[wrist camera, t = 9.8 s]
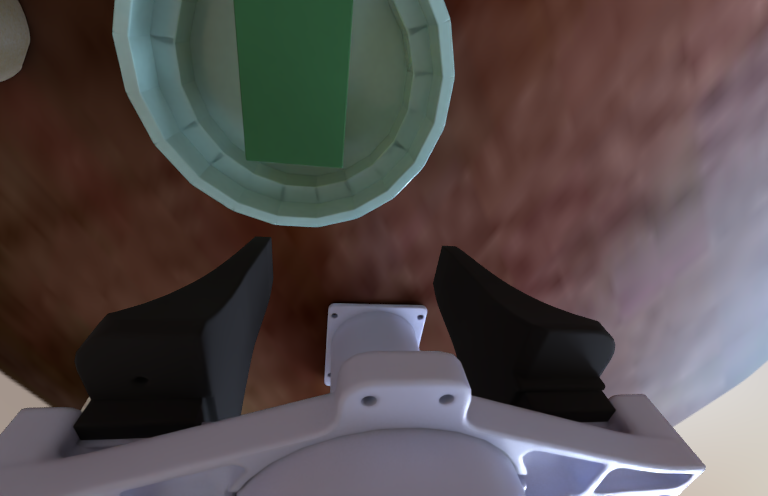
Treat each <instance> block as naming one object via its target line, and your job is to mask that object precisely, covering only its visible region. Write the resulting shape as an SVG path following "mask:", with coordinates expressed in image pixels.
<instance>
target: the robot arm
mask: <svg viewBox="0 0 768 496" xmlns="http://www.w3.org/2000/svg"><path fill="white" fill-rule="evenodd" d="M272 283H273V263H272V242H271V237H254V238H253V239H252V240H251V241H250V242H249V243H247V244H246V245H245V246H244V247H243V248H242V249H240V250H239V251H238V252H237V253H236V254H235V255H233V256H232V257H231V258H230V259H228V260H227V261H226V262H224V263H223V264H222V265H220V266H219V267H217V268H216V269H215V270H213V271H212V272H210V273H209V274H207V275H205V276H204V277H202V278H200V279H199V280H197V281H195V282H193V283H191V284H189V285H187V286H185V287H183V288H181V289H179V290H177V291H175V292H172V293H170V294H168V295H165V296H163V297H160V298H158V299H155V300H152V301H149V302H147V303H144V304H141V305H138V306H134V307H131V308H127V309H124V310H120V311H117V312H113V313H109V314H107V315H106V316H105V317H104V319H103V320H102V321H101V322H100V323H99V324H98V325H97V326H96V328H95V329H94V330H93V332H92V333H91V334H90V335H89V337H88V338H87V339H86V340H85V342H84V343H83V344H82V345H81V347H80V348H79V349H78V351H77V352H76V356H75V365H76V369H77V371H78V374H79V376H80V378H81V380H82V382H83V384H84V386H85V388H86V391H87V393H88V395H89V397H90V399H91V400H90V402H89V403H88V405H87V406H86V408H85V409H84V411H83V412H81V411H80V410H78V409H75V408H71V407H44V408H24V409H22V410H21V411H20V412H19V413H18V414H17V415H16V416H15V418H14V419H13V420H12V421H11V423H10V424H9V425H8V426H7V427H6V429H5V430H4V431H3V432H2V433H1V434H0V496H677V495H678V494H679V493H680V492H681V491H683V489H685V488H686V487H687V486H688V485H689V484H690V483H691V482H692V481H693V480H695V479H696V478H697V477H698V476H699V475H700V474H701V473H702V472H703V471H704V470H705V467H706V466H705V465H704V464H703V463H702V461H701V460H700V459H699V458H698V457H697V455H696V454H695V453H694V452H693V451H692V450H691V448H690V447H689V446H688V445H687V444H686V443H685V441H684V440H683V439H682V438H681V437H680V435H679V434H678V433H677V432H676V431H675V429H674V428H673V427H672V426H671V425H670V424H669V422H668V421H667V420H666V419H665V418H664V416H663V415H662V414H661V413H660V412H659V411H658V409H657V408H656V407H655V406H654V405H653V404H652V402H651V401H650V400H649V399H648V398H647V396H646V395H643V394H632V395H615V396H612V397H610V398H609V399H608V398H607V397H606V396H605V394H604V393H603V392H602V390H604V389H605V384H604V383H603V382H602V380H601V379H600V378H599V377H600V375H601V374H602V372H603V371H604V369H605V368H606V366H607V365H608V363H609V361H610V360H611V358H612V356H613V354H614V350H615V342H614V339H613V338H612V336H611V335H610V334H609V333H608V332H607V331H606V330H605V329H604V327H603V326H602V325H601V324H600V323H599V322H598V321H595V320H592V319H589V318H585V317H582V316H578V315H575V314H572V313H569V312H566V311H564V310H561V309H558V308H555V307H553V306H551V305H548V304H546V303H543V302H541V301H539V300H537V299H535V298H533V297H531V296H529V295H527V294H525V293H523V292H521V291H519V290H517V289H516V288H514V287H512V286H510V285H509V284H507V283H506V282H504V281H502V280H501V279H499V278H498V277H496V276H495V275H494V274H492V273H491V272H489V271H488V270H487V269H485V268H484V267H483V266H481V265H480V264H479V263H477V262H476V261H475V260H473V259H472V258H471V257H470V256H468V255H467V254H466V253H464V252H463V251H462V250H460V249H459V248H457V247H456V246H442V249H441V253H440V257H439V261H438V265H437V270H436V274H435V278H434V282H433V286H434V290H435V295H436V300H437V303H438V306H439V309H440V312H441V314H442V317H443V319H444V322H445V325H446V327H447V330H448V332H449V335H450V337H451V340H452V343H453V346H454V349H455V352H456V355H457V358H456V357H455V356H454V355H453V354H450V353H445V352H440V351H420V350H419V343H420V339H421V335H422V331H423V327H424V323H425V319H426V314H427V309H426V307H425V306H424V305H394V304H348V303H333V304H331V305H330V306H329V307H328V323H327V341H326V359H325V377H324V383H325V384H326V385H328V386H331V388H330V393H329V394H325V395H321V396H317V397H313V398H309V399H305V400H301V401H297V402H293V403H289V404H285V405H281V406H277V407H272V408H268V409H264V410H260V411H256V412H252V413H248V414H244V415H241V410H242V404H243V399H244V393H245V388H246V383H247V378H248V372H249V367H250V363H251V358H252V353H253V349H254V345H255V342H256V339H257V336H258V333H259V330H260V327H261V324H262V321H263V318H264V315H265V312H266V308H267V305H268V302H269V299H270V294H271V288H272ZM333 313H335V314H336V315H332V314H333ZM418 315H421V316H418Z"/></svg>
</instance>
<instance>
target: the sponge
mask: <svg viewBox="0 0 768 496" xmlns="http://www.w3.org/2000/svg"><path fill="white" fill-rule="evenodd" d="M233 3H234V15H235V28H236V41H237V54H238V66H239V79H240V92H241V105H242V118H243V130H244V143H245V156H246V160H247V161H259V162H271V163H284V164H296V165H308V166H320V167H332V168H342V167H343V153H344V137H345V122H346V106H347V91H348V76H349V60H350V45H351V29H352V14H353V0H233Z"/></svg>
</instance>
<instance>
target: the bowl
mask: <svg viewBox="0 0 768 496" xmlns="http://www.w3.org/2000/svg"><path fill="white" fill-rule="evenodd" d="M112 31H113V32H112V35H113V40H114V44H115V48H116V52H117V57H118V61H119V65H120V70H121V74H122V78H123V83H124V87H125V91H126V93H127V96H128V97H129V99H130V101H131V103H132V105H133V107H134V108H135V110H136V112H137V114H138V116H139V118H140V119H141V121H142V123H143V125H144V127H145V129H146V130H147V132H148V134H149V136H150V138H151V140H152V141H153V143H154V144H155V146H156V147H157V148H158V149H159V150H160V151H161V152H162V154H163V155H164V156H165V157H166V158H167V159H168V160H169V161H170V162H171V163H172V164H173V165H174V166H175V167H176V169H177V170H178V171H179V172H180V173H181V174H182V175H183V176H184V177H185V178H186V179H187V180H188V181H189V182H190V183H192V185H193V186H195V187H196V188H198V189H199V190H201V191H203V192H204V193H206V194H207V195H209V196H210V197H212V198H213V199H215V200H217V201H218V202H220V203H221V204H223V205H224V206H226V207H227V208H229V209H231V210H233V211H235V212H238V213H241V214H244V215H247V216H250V217H253V218H256V219H259V220H262V221H265V222H268V223H271V224H274V225H275V224H276V225H285V226H303V227H321V226H326V225H330V224H335V223H339V222H344V221H348V220H352V219H357V218H359V217H361V216H363V215H365V214H366V213H368V212H370V211H372V210H373V209H375V208H377V207H379V206H381V205H382V204H384V203H386V202H388V201H390V200H391V199H393V198H394V197H395V196H396V195H397V194H398V193H399V192H400V191H401V190H402V189H403V188H404V187H405V186H406V185H407V184H408V183H409V182H410V181H411V180H412V179H413V178H414V177H415V176H416V175H417V174H418V173H419V172H420V170H421V169H422V167H424V165H425V163H426V162H427V160H428V158H429V156H430V154H431V152H432V150H433V148H434V146H435V144H436V142H437V141H438V139H439V137H440V135H441V133H442V131H443V129H444V126H445V123H446V118H447V113H448V108H449V103H450V98H451V93H452V88H453V84H454V79H455V78H454V76H455V71H454V57H453V44H452V31H451V21H450V16H449V13H448V11H447V8H446V5H445V2H444V0H353V14H352V29H351V45H350V60H349V76H348V91H347V106H346V122H345V137H344V153H343V167H342V168H332V167H320V166H308V165H296V164H284V163H271V162H259V161H247V160H246V156H245V143H244V130H243V118H242V105H241V92H240V79H239V66H238V54H237V41H236V28H235V15H234V3H233V0H115V2H114V14H113V26H112Z"/></svg>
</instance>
